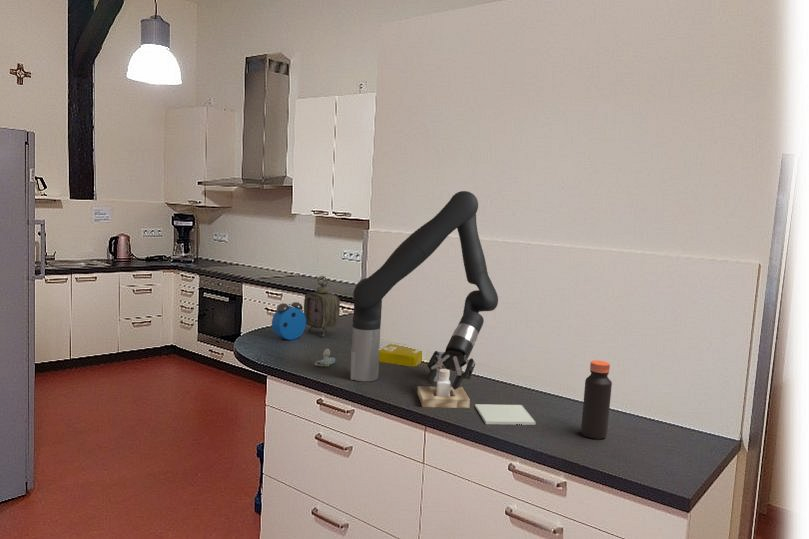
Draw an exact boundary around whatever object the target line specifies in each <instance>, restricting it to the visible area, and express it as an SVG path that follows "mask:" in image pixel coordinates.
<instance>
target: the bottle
mask: <svg viewBox="0 0 809 539" xmlns="http://www.w3.org/2000/svg"><path fill="white" fill-rule="evenodd" d="M589 366H590V367H589V372H590V375H589V376H587V377H586V378H585V381H584V393H583V402H582V403H583V405H582V415H581V425H580V427H581V428H580V434H581V435H582V434H583V435H582V436H584V435H585V436H587V437H586V438H588V437H590V438H589V439H591V438H596V439H595V440H602V439H601V438H604V439H606V438H607V436H608V429H609V428H608V427H609V418H610V407H611V406H610V405H611V395H612V385H613V383H612V380H611V379H610V378H609V377H608V375H609V373H610V369H611V368H610V367H611V364H610V363H609V362H607V361H604V360H592V361H590V365H589ZM585 436H584V437H585ZM605 437H606V438H605Z"/></svg>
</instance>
